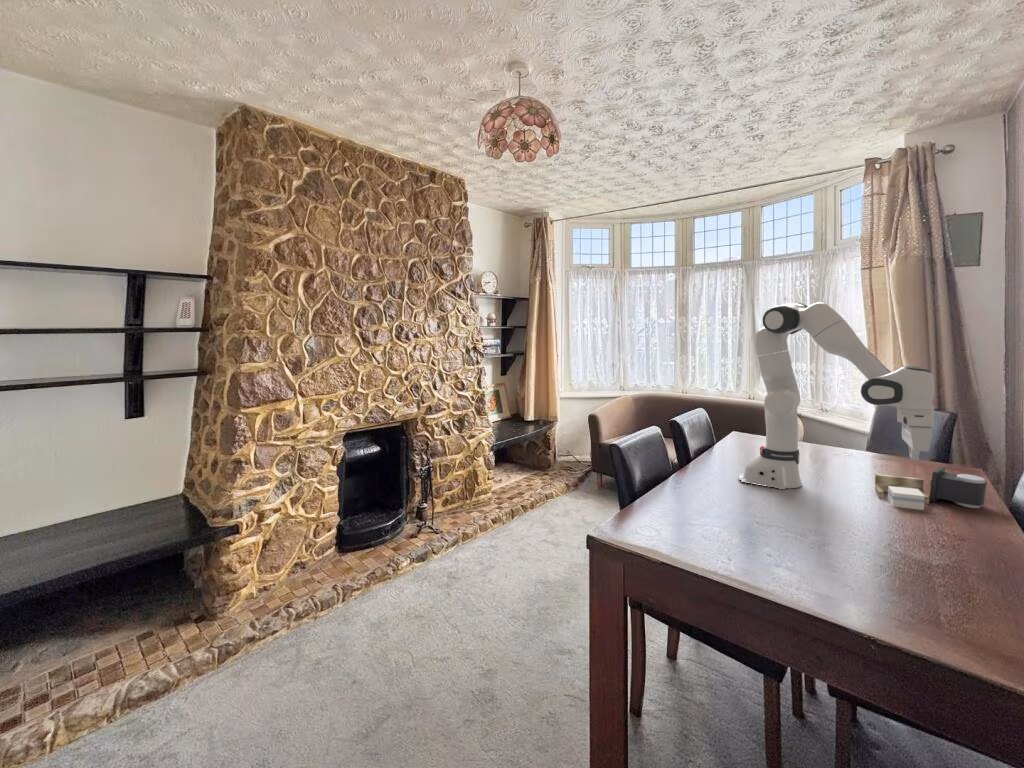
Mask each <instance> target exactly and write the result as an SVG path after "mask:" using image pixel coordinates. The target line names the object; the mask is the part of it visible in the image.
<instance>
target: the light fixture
mask: <svg viewBox="0 0 1024 768" xmlns="http://www.w3.org/2000/svg"><path fill="white" fill-rule="evenodd" d="M987 484H988V483H987V482H986V479H985V478H984V477H981V476H978V475H973V474H967V473H959V474H955V473H951V472H946V466H939V467H937V468H936V469H934V470H933V471H932V476H931V479H930V480H929V486H930V489H929V502H933V503H936V502H937V501H938V500H939V499H942V500H947V501H950V502H951V501H952V502H953V503H954V504H956V505H958V506H961V507H963V508H965V507H966V508H969V509H981V508H982V506H984V504H985V500H986V499H985V498H986V491H987V486H988V485H987ZM980 507H981V508H980Z"/></svg>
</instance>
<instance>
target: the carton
mask: <svg viewBox="0 0 1024 768" xmlns="http://www.w3.org/2000/svg"><path fill="white" fill-rule="evenodd" d="M924 497H925V496H924V495H923V494H922V493H921V492H920V491H919V489H914V488H904V487H894V486H888V492H887V500H888V502H889V503H890V504H891V506H892V507H894V508H904V509H913V510H920V511H924V510H925V504H924V503H925V500H924Z"/></svg>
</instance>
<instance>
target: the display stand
mask: <svg viewBox="0 0 1024 768" xmlns="http://www.w3.org/2000/svg"><path fill="white" fill-rule="evenodd" d="M874 475H875V476H874V491H875V493H876V495H877V497H878V499H884V492H885V493H888V486H894V487H904V488H914V489H919V491H920V492H921V493H922V494H923V495H924V496H925V497H924V500H925V503H924V505H926V504H927V505H929V504H930V501H929V498H930V495H928V493H926V491H925V490H924V478H919V477H909V476H908V477H907V476H899V475H888V474H877V473H875V474H874Z"/></svg>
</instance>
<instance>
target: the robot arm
mask: <svg viewBox="0 0 1024 768" xmlns="http://www.w3.org/2000/svg"><path fill="white" fill-rule="evenodd" d="M762 325H763V327H762V328H760V329H758V330H757V332H756V334H755V350H756V355H757V361H758V366H759V370H760V376H761V378H762V381H763V383H764V387H765V389H766V393H767V394H766V395H765V397H764V401H763V404H764V407H763V408H764V418H765V419H764V420H765V421H764V422H765V430H766V431H765V432H766V433H765V446H764V445H760V446H759V453H760V454H759V456H757V457H756V458H754V459H752V460H750V461H749V462H747V463H746V466H745V468H744V472H742V473H740V474H739V475H738V478H739V479H740V478H743V479H740V480H742V481H745V482H750V483H756V484H761V485H766V486H770V487H775V488H779V489H778V490H781V489H783V490H787V489H797V488H801V487H802V486H803V482H802V480H801V479H802V478H801V475H800V469H799V464H800V449H799V424H798V423H799V422H798V408H799V406H800V404H801V395H800V391H799V387H798V383H797V379H796V377H795V373H794V369H793V365H792V359H791V355H790V351H789V346H788V337H789V335H795V334H796V333H798V332H800V331H801V330H804V331H806V333H808V334H809V336H810V337H811V338H812V340H813V341H815V343H816V344H817V345H818V346H819V347H821V348H822V350H824V351H825V352H826V353H828V354H831V355H834V356H838V357H841V358H843V359H846V360H848V361H849V362H850V363H852V365H854V366H855V367H856V368H857V369H858V370H859V372H860V373H862V375H863V376H864V377H865V378H866V379H867V380H866V381H864V383H862V385H861V388H860V394H861V398H863V400H864V401H865V402H867V403H868V404H871V405H874V406H887V405H894V404H895V405H896V421H897V423H901V439H902V440H903V441H904V442H905V443H906V444H907V445H908V452H909V458H910V459H911V460H912V461H919V460H920V453H921V452H929V451H930V448H931V442H932V434H933V433H932V432H933V431H932V430H933V428H935V426H936V425H935V424H936V422H935V405H934V402H933V400H934V397H935V377H934V375H933V373H932V371H931V370H929V369H928V368H924V367H920V366H909V365H905V366H901V367H900V368H899V369H897V370H894V371H891V370H889V369H888V368H886V367H885V366H884V364H883V363H882V362H881V361H880V360H879V359H878V358H877V357H876V356H875V355H874V354H873V353H872V352H871V351H870V350H869V348H867V347H866V346H865V345H864V343H863V342H862V340H861V339H860V338H859V336H858V335H857V334H856V333H855V331H854V330H853V328H852V327H851V326H850V324H848V322H847V321H846V320H845V319H844V317H842V316H841V314H840V313H838V312H837V311H836V310H835V309H834V308H832V307H831V306H830V305H828V304H827V303H825V302H815V303H812V304H810V305H807V304H804V303H802V302H801V303H800V302H796V303H795V302H794V303H793V302H789V303H783V304H779V305H774V306H772V307H770V308H769V309H767V310H766V311H765V312H764V314H763V315H762ZM739 479H738V480H739ZM775 488H774V489H775ZM786 488H787V489H786Z"/></svg>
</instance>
